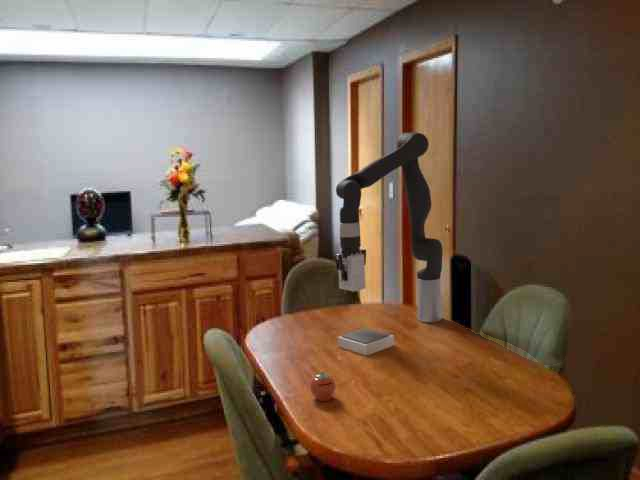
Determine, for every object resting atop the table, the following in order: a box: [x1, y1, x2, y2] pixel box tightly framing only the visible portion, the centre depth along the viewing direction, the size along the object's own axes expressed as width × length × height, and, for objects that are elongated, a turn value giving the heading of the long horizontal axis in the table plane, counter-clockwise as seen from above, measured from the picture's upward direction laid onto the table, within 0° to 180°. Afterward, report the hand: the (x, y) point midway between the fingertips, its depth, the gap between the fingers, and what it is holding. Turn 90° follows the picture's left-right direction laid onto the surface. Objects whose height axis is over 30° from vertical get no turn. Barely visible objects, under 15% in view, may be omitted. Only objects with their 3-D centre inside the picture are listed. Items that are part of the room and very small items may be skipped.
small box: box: [338, 254, 366, 293], centre depth 214 cm, size 8×6×13 cm
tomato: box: [309, 370, 337, 402], centre depth 161 cm, size 7×7×8 cm
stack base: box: [337, 327, 395, 356], centre depth 204 cm, size 14×14×4 cm
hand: (351, 279), depth 214 cm, fingers closed on small box, 6 cm apart
